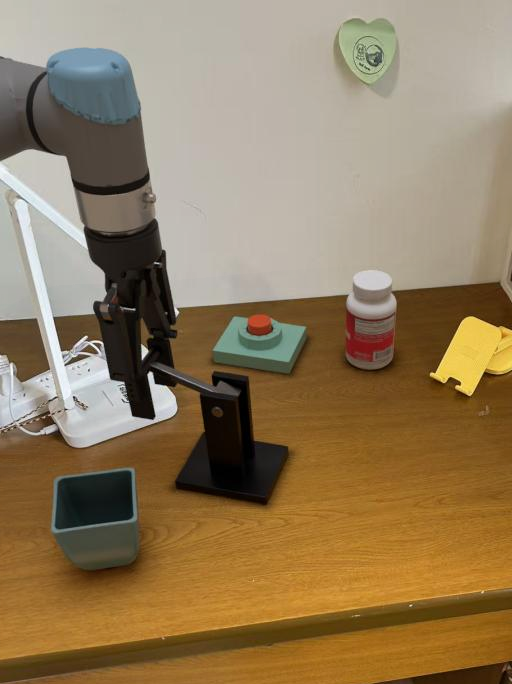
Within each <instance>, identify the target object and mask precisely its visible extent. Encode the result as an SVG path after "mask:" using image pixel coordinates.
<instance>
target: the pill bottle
mask: <svg viewBox="0 0 512 684" xmlns="http://www.w3.org/2000/svg"><path fill="white" fill-rule="evenodd" d="M392 291H393V279H392V277H391V275H389V274H388V273H387V272H384V271H381V270H376V269H367V270H362V271H359V272H357V273H356V274H355V275H353V278H352V291H351V292H350V294H348V296H347V298H346V301H345V302H346V303H345V305H346V306H345V312H346V313H345V345H344V346H345V348H344V349H345V358H346V360H347V362H348V363H350V364H351V365H352V366H354V367H356V368H358V369H361V370H368V371H371V370H372V371H373V370H379V369H382V368H385V367H386V366H388V365H389V364H390V363H391V362H392V361H393V358H394V352H395V339H396V338H395V335H396V323H397V322H396V321H397V307H398V306H397V305H398V301H397V299H396V297H395V295H394V294H393V292H392Z"/></svg>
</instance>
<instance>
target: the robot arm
mask: <svg viewBox="0 0 512 684" xmlns="http://www.w3.org/2000/svg"><path fill="white" fill-rule="evenodd" d="M45 66H46V67H44V66H41V65H36V64H32V63H27V62H22V61H17V60H14V59H12V58H10V57H4V56H1V55H0V162H3V161H4V160H7V159H9V158H12V157H14V156H15V155H17V154H20V153H23V152H25V151H27V150H28V151H29V150H34V151H38V152H43V153H46V154H51V155H55V156H60V157H65V158H66V161H67V165H68V169H69V173H70V179H71V183H72V188H73V191H74V196H75V200H76V206H77V209H78V215H79V220H80V222H81V223H82V224H83V234H84V239H85V243H86V247H87V252H88V256H89V259H90V260H91V262H92V263H93V264H94V265H95V266H97V267H98V268H99V269H100V270H101V271H102V272H103V273H104V290H105V292H106V294H105V297H103V300H101V301H100V300H94V302H93V303H92V310H93V313H94V315H95V318H96V319H97V321H98V324H99V328H100V335H101V340H102V345H103V350H104V356H105V361H106V366H107V371H108V376H109V379H110V381H114V382H119V383H123V385H124V389H125V393H126V397H127V400H128V405H129V408H130V414H131V417H132V418H137V419H144V420H150V421H154V420H155V419H156V416H157V415H156V409H155V405H154V401H153V396H152V395H153V394H152V390H151V386H150V385H151V384H150V380H149V376H148V375H149V374H148V375H147V372H143V371H142V360H143V352H142V351H143V350H142V323H141V322H142V321H143V322H144V326H145V327H146V330H147V333H148V335H149V337H148V338H147V339H145V340H146V347H147V351H148V352H149V350H150V349H151V348H152V346H154V345H157V346H159V347H161V348H162V350H163V354H162V355H161V356H160V358H159V359H158V361H157V362H159V363H161V364H164V365H166V366H168V367H171V368H173V369H175V370H176V368H175V363H174V362H175V361H174V357H173V352H172V345H171V341H170V340H171V339H172V340H176V339H177V338H178V329H172V328H171V326H176V324H177V315H176V310H175V305H174V300H173V294H172V289H171V283H170V279H169V274H168V269H167V251H166V249H163V244H162V238H161V233H160V227H159V222H158V219H156V215H157V211H156V204H155V203H156V202H157V196H156V194H155V193H153V192H154V191H153V186H152V180H151V173H150V167H149V164H148V163H149V162H148V157H147V151H146V143H145V136H144V135H145V134H144V127H143V120H142V119H143V117H142V112H141V111H142V106H141V100H140V98H139V96H138V91H137V87H136V83H135V79H134V74H133V70H132V67H131V63H130V62H129V61H128V59H127V58H126V57H125V55H123V54H121V53H119V52H118V51H115V50H112V49H109V48H104V47H96V48H92V47H91V48H90V47H75V48H67V49H64V50H60V51H58V52H56V53H53V54H52V55H51V56H50V57H48V59H47V62H46V65H45ZM141 319H142V320H141ZM150 336H151V337H150ZM148 352H147V353H148ZM152 377H153V382H154V385H158V386H164V387H171V388H176V386H177V385H178V383H176V382H174V381H171V380H169V379H166V378H164V377H162V376H159V375H157V374H155V373H152Z"/></svg>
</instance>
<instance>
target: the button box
mask: <svg viewBox="0 0 512 684" xmlns="http://www.w3.org/2000/svg"><path fill="white" fill-rule="evenodd" d="M249 318H250V317H242V316H233V317H232V319H231V321H230V322H229V324H228V325H227V327H226V328H225V329H224V332H223V333H222V335H221V336H220V338H219V340H218V341H217V343H216V344H215V346H214V347H213V349H212V356H213V363H216V364H223V365H229V366H235V367H241V368H242V367H243V368H248V369H255V370H262V371H268V372H274V373H280V374H281V373H282V374H288V375H290V373H291V371H292V369H293V367H294V365H295V363H296V360H297V359H298V357H299V355H300V353H301V351H302V349H303V346H304V345H305V343H306V340H307V326H304V325H295V324H289V323H283V322H279V321H277V320H275V319H274V318H271V317H269V318H270V319H271V327H272V331H271V333H269V334H267V335H263V336H255V335H251V334H249V332H248V323H247V321H248V319H249Z"/></svg>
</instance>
